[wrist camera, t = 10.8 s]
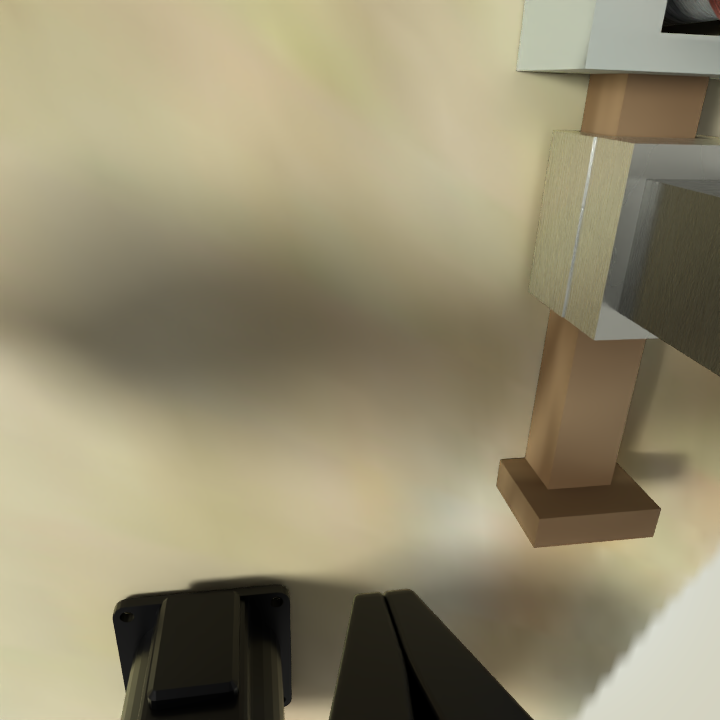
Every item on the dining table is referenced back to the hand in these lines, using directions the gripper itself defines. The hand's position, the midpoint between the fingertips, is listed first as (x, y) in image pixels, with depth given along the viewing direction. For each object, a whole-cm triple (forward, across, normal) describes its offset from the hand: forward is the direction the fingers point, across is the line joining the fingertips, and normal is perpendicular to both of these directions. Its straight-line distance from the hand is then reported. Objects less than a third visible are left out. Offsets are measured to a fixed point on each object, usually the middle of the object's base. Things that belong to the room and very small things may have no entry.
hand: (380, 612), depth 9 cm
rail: (+12, -10, 0) cm, 15 cm away
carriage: (+12, -10, -3) cm, 16 cm away
